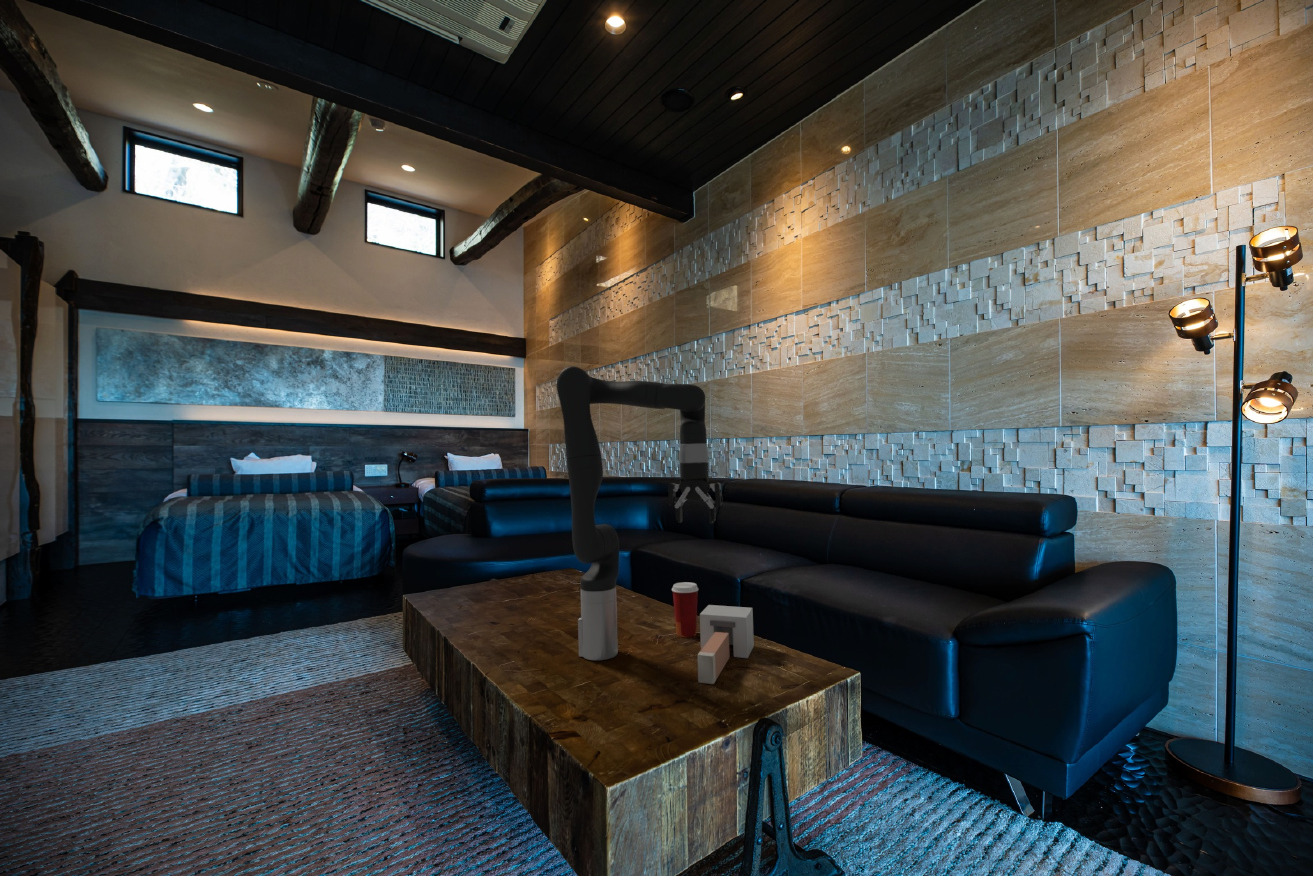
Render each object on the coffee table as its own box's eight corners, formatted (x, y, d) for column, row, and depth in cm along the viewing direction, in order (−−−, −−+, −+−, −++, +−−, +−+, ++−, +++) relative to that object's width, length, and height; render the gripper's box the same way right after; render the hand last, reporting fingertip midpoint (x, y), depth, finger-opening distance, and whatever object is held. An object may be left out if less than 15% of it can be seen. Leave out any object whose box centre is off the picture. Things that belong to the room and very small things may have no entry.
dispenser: (700, 654, 138) (699, 614, 139) (709, 642, 147) (708, 604, 148) (747, 659, 134) (745, 618, 135) (753, 646, 143) (752, 607, 144)
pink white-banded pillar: (698, 682, 121) (697, 654, 121) (715, 656, 136) (715, 631, 136) (713, 684, 119) (712, 656, 120) (729, 657, 135) (728, 633, 135)
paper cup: (704, 632, 155) (703, 583, 156) (691, 640, 149) (690, 589, 149) (681, 628, 160) (679, 580, 160) (667, 636, 153) (666, 586, 154)
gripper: (663, 462, 142) (665, 524, 142) (716, 460, 137) (719, 525, 137) (672, 461, 149) (674, 520, 149) (723, 460, 144) (725, 521, 144)
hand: (695, 522), depth 143 cm, fingers open, 8 cm apart
